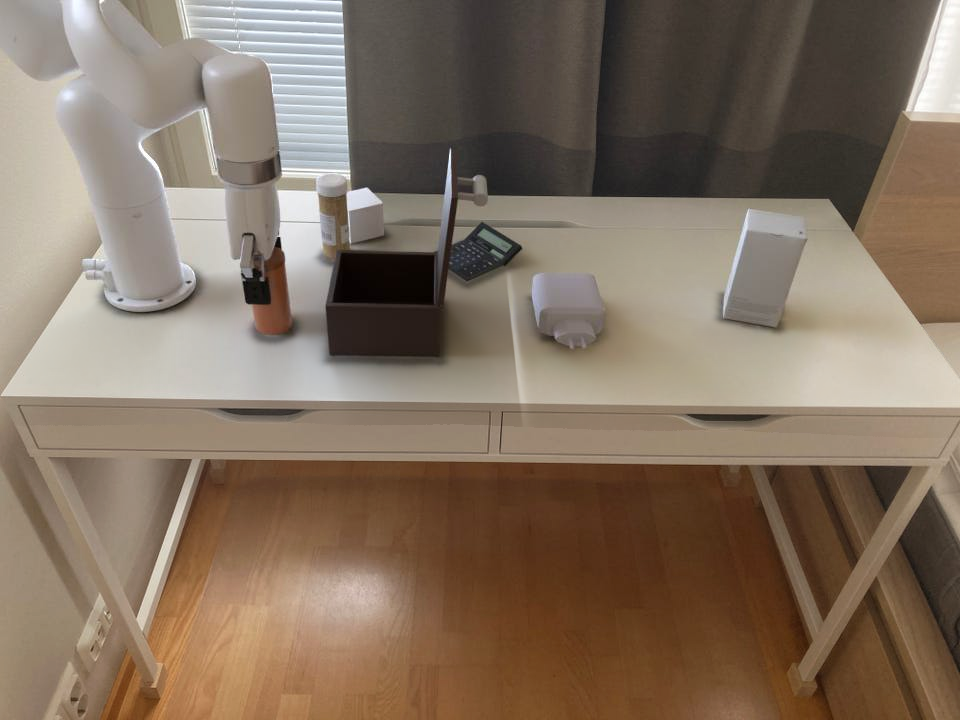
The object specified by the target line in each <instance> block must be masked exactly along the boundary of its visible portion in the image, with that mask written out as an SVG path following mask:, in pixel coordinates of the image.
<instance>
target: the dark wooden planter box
mask: <svg viewBox="0 0 960 720" xmlns="http://www.w3.org/2000/svg"><path fill="white" fill-rule="evenodd" d="M437 287H438V252H435V251H401V250H400V251H399V250H398V251H397V250H396V251H393V250H360V249H359V250H358V249H350V250H336V254H335V259H334V261H333V265H332V271H331V275H330V281H329V285H328V291H327V296H326V300H325V318H326V329H327V338H328V339H327V341H328V352H329V356H351V357H352V356H354V357H355V356H356V357H407V358H410V357H411V358H413V357H414V358H440V336H441V335H440V334H441V305H437Z"/></svg>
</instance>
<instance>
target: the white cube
mask: <svg viewBox="0 0 960 720" xmlns="http://www.w3.org/2000/svg"><path fill="white" fill-rule="evenodd" d="M346 196H347V210H348V221H349V234H350V238H349V240H350V245H351V244H355V243H360V242H364V241H367V240H371V239H376V238H379V237H383V236H385V227H384V226H385V225H384V223H385V222H384V221H385V219H384V203H383V201H381V199H380V198H379V197H378V196H377V195H375V193H373V192H372V191H371V190H370V189H369V187H364V188H358V189H354V190H349V191H347V194H346Z"/></svg>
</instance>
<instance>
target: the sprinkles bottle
mask: <svg viewBox="0 0 960 720" xmlns="http://www.w3.org/2000/svg"><path fill="white" fill-rule="evenodd" d="M315 188H316V189H315V190H316V193H317V196H318V213H319V225H320V236H321V237H320V238H321V241H322V242H321V243H322V254H323V256H324V257H325V258H326V259H329V260H334V259H335V254H336V250H351V243H350V240H349V238H350V234H349V221H348V210H347V196H346V194H347V192H348V180H347V178H346V176H345V175H343V174H341V173H336V172H329V173H328V172H327V173H323V174H321V175H319V176H318V177H317V178H316V180H315Z"/></svg>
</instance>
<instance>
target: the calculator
mask: <svg viewBox="0 0 960 720" xmlns="http://www.w3.org/2000/svg"><path fill="white" fill-rule="evenodd" d="M522 250H523V247H522V245H521V244H520V243H518V242H516V241H515V240H513V239H511V238H510V237H508V236H506V235H505V234H503V233H501V232H500V231H499V230H496V229H494V228H493V227H492V226H490V225H489V224H487V223H485V222H483V221H481V222H480V223H479V224H478V225H477V226H476V227H475V228H474V229H473V230H472V231H471V232H470V233H469V234H468V235H467V236H466V237H465V238H464V239H463V240H460V241H458V242H454V243H452V247H451V254H450V262H449V269H448V270H449V271H451V272H453V273H454V274H455V275H457V276H459V277H460V278H462V279H463V280H465V281H466V282H468V281H471V280H473V279H475V278H477V277H480V276H482V275H484V274H486V273H489V272H491V271H493V270H496V269H498V268H500V267H502V266H504V267H506V266H507V265H508V264H509V263H510V262H511V261H512V260H513V259H514V258H516V256H517V255H518V254H519V253H520V252H521V251H522ZM434 252H438V250H435V251H434Z"/></svg>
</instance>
